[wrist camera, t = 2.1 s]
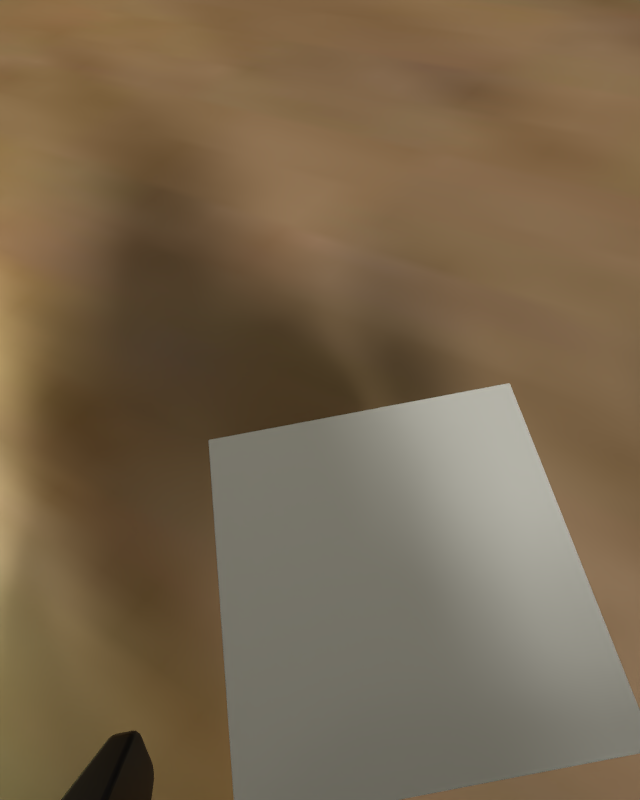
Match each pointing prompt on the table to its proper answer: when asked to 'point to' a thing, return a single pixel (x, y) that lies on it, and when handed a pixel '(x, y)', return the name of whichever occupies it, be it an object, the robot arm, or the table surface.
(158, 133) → the table surface
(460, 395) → the grey rectangular block
